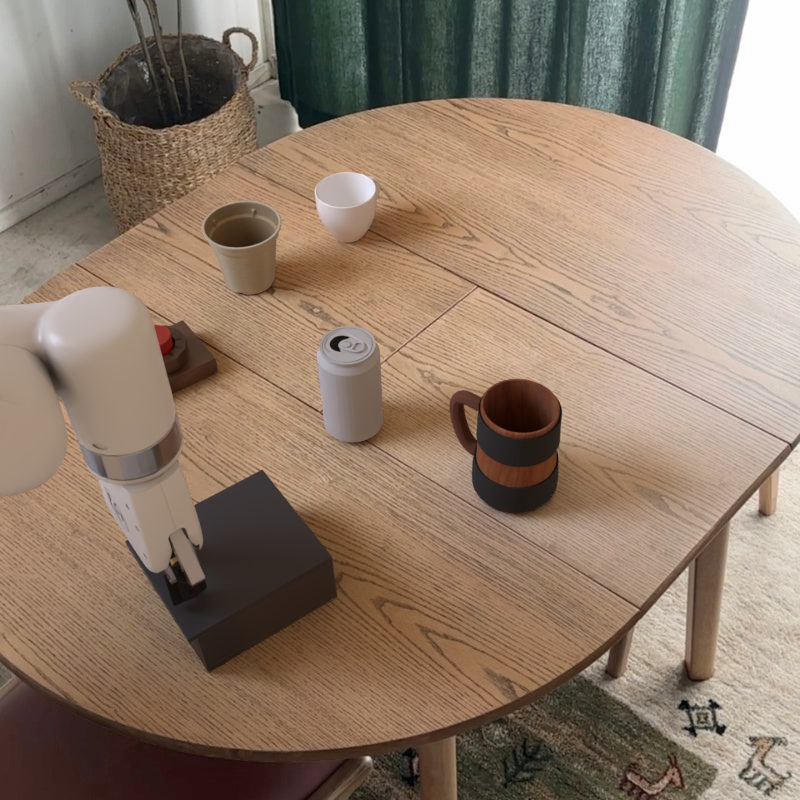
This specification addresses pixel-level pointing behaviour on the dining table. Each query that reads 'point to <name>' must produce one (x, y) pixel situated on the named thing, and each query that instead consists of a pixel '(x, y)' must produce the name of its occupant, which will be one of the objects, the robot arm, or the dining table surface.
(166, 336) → the alarm button
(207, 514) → the box lid
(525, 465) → the mug
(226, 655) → the box case
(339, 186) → the cup
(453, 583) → the dining table surface
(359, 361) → the beverage can
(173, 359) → the block
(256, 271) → the flower pot
